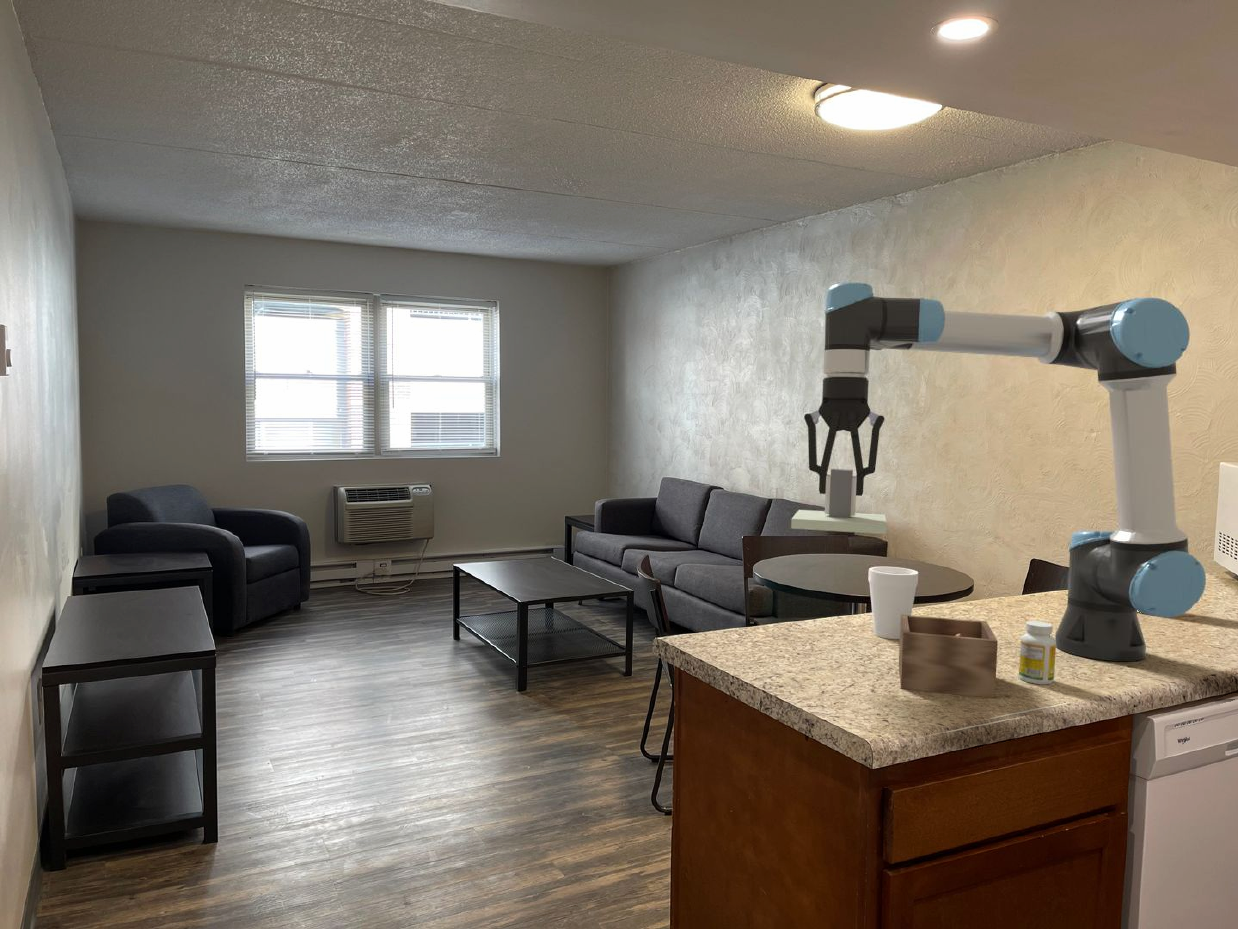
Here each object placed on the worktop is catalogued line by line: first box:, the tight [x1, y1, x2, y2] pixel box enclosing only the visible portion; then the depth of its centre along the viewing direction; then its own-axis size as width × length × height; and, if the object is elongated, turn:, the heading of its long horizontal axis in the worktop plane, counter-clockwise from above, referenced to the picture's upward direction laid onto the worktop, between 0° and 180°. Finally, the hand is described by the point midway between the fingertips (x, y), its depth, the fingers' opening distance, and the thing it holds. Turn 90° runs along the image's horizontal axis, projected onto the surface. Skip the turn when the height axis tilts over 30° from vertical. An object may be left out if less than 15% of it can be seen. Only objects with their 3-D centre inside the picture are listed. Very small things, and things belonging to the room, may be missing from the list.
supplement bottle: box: [1018, 620, 1057, 685], centre depth 148 cm, size 5×5×10 cm
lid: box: [790, 468, 887, 535], centre depth 150 cm, size 15×15×10 cm
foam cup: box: [867, 566, 919, 640], centre depth 176 cm, size 10×9×13 cm
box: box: [898, 614, 998, 699], centre depth 146 cm, size 14×14×9 cm
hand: (840, 513), depth 151 cm, fingers closed on lid, 3 cm apart
